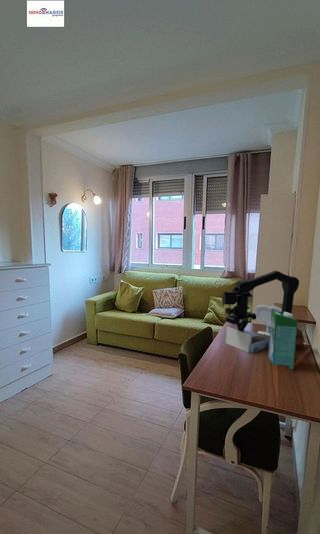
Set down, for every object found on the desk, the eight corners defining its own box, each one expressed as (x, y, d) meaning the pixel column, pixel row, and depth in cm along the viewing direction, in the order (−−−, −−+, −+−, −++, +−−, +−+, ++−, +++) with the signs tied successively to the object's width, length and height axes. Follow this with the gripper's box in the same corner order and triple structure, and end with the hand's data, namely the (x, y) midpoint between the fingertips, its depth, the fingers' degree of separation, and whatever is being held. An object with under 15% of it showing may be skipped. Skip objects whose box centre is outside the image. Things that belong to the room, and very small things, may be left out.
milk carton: (293, 369, 112) (298, 315, 110) (272, 367, 114) (276, 313, 112) (287, 360, 121) (291, 310, 119) (268, 358, 123) (271, 308, 120)
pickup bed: (271, 349, 134) (272, 339, 133) (253, 356, 124) (254, 345, 124) (241, 337, 149) (242, 328, 149) (223, 343, 140) (224, 334, 139)
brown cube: (262, 345, 134) (263, 337, 134) (259, 348, 131) (259, 339, 131) (254, 343, 137) (255, 335, 137) (250, 345, 134) (251, 337, 134)
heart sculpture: (253, 332, 159) (255, 305, 157) (254, 330, 163) (256, 303, 161) (280, 337, 151) (282, 308, 149) (281, 335, 155) (283, 306, 154)
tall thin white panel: (249, 351, 126) (250, 334, 125) (247, 352, 125) (248, 335, 125) (227, 342, 137) (228, 326, 137) (225, 342, 137) (226, 327, 136)
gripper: (240, 299, 143) (238, 326, 144) (218, 303, 132) (216, 332, 133) (257, 303, 134) (255, 332, 135) (235, 308, 123) (233, 338, 124)
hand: (240, 333), depth 132 cm, fingers closed
